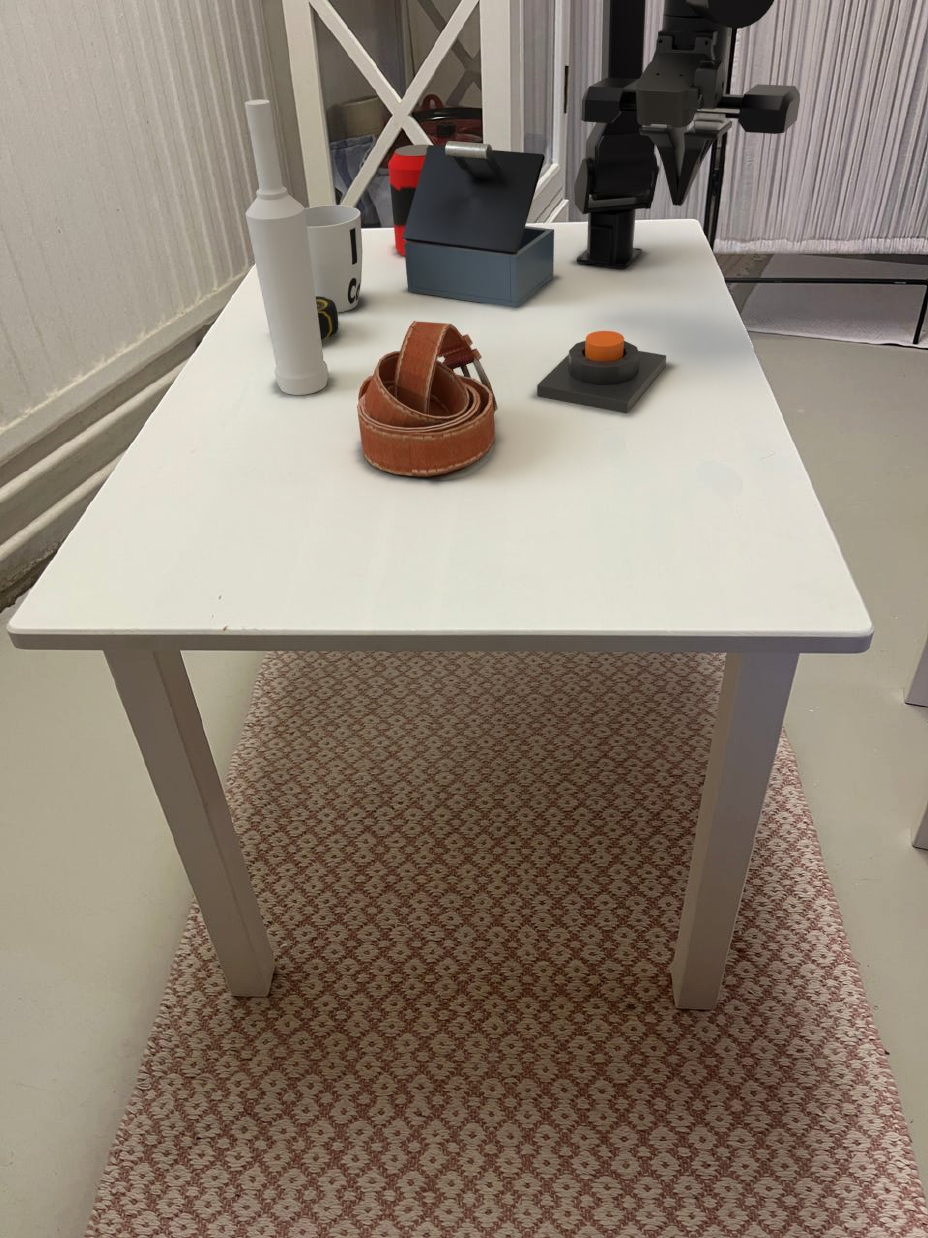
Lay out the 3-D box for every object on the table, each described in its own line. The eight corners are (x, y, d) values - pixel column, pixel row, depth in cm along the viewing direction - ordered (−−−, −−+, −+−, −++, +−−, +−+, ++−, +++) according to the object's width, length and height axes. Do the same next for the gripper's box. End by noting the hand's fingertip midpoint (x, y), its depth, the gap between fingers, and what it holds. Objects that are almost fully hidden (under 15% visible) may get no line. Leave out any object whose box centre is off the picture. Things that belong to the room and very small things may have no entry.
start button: (593, 345, 90) (594, 327, 89) (628, 351, 89) (629, 333, 88) (579, 359, 88) (579, 342, 87) (615, 366, 86) (616, 348, 85)
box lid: (430, 147, 107) (413, 124, 102) (545, 157, 101) (531, 132, 97) (404, 240, 107) (386, 221, 103) (517, 254, 102) (502, 235, 97)
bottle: (320, 397, 90) (275, 108, 74) (269, 394, 91) (215, 108, 75) (336, 374, 94) (297, 95, 78) (287, 371, 95) (239, 95, 79)
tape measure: (329, 321, 105) (325, 288, 102) (348, 342, 100) (344, 308, 97) (270, 333, 103) (264, 299, 100) (287, 355, 98) (281, 321, 95)
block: (581, 352, 95) (582, 323, 93) (665, 366, 92) (668, 337, 90) (536, 396, 88) (536, 367, 86) (626, 414, 84) (629, 383, 82)
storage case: (449, 263, 118) (446, 216, 114) (553, 277, 112) (554, 229, 108) (407, 291, 111) (403, 242, 107) (516, 308, 105) (516, 257, 102)
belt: (530, 427, 83) (530, 318, 77) (450, 494, 75) (443, 378, 69) (406, 394, 89) (397, 291, 83) (320, 453, 81) (302, 343, 75)
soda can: (458, 254, 120) (454, 153, 112) (401, 261, 119) (392, 160, 111) (446, 237, 126) (440, 139, 118) (391, 243, 125) (382, 146, 117)
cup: (366, 316, 105) (355, 225, 99) (295, 319, 105) (280, 228, 99) (373, 290, 111) (363, 203, 105) (306, 293, 112) (293, 206, 105)
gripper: (559, 24, 78) (555, 219, 88) (785, 29, 71) (753, 240, 80) (607, 6, 85) (599, 187, 95) (816, 9, 78) (783, 204, 88)
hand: (678, 204), depth 89 cm, fingers closed
